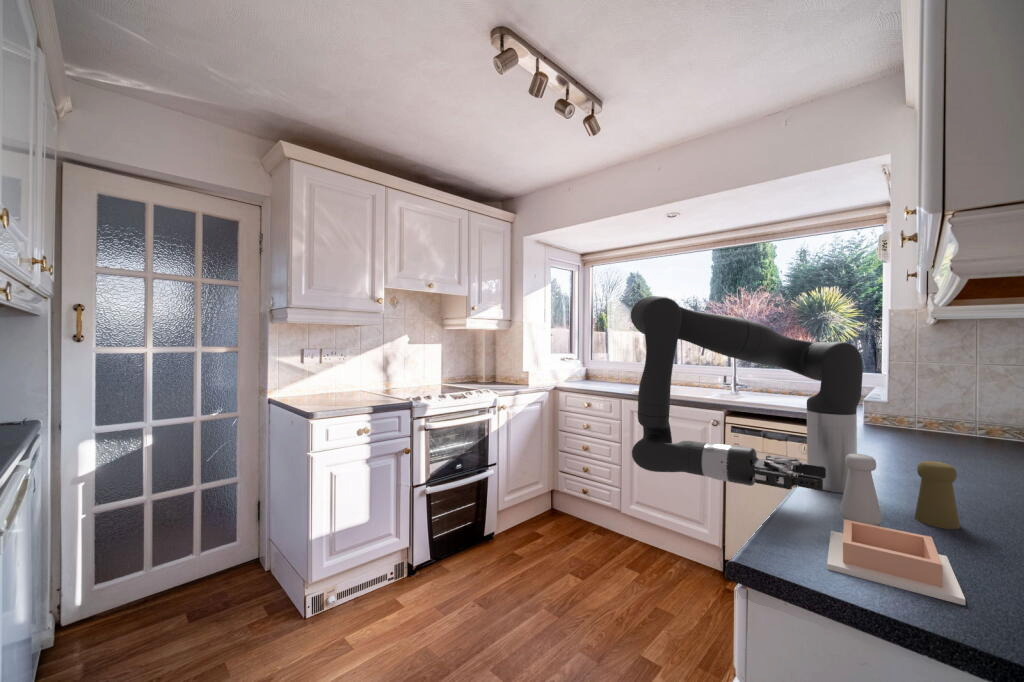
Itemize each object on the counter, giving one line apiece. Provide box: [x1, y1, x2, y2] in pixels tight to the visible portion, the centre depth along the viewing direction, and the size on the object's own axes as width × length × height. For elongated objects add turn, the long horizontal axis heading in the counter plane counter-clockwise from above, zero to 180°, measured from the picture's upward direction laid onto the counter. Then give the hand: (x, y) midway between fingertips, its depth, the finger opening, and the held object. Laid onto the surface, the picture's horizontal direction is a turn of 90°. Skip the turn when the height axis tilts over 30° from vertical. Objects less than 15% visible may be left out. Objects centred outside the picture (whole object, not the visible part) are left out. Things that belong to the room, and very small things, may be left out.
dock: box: [826, 519, 966, 606], centre depth 64 cm, size 14×14×4 cm
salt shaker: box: [839, 453, 883, 526], centre depth 76 cm, size 6×6×13 cm
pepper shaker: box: [914, 460, 961, 530], centre depth 79 cm, size 6×6×11 cm
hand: (824, 478), depth 80 cm, fingers open, 8 cm apart
